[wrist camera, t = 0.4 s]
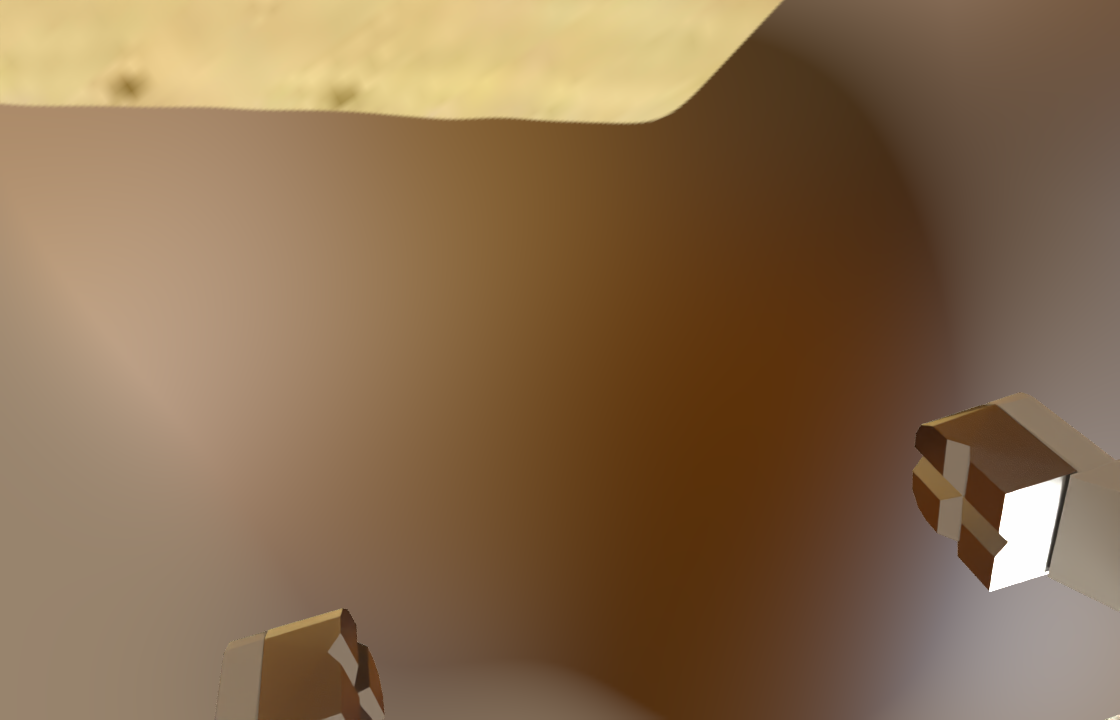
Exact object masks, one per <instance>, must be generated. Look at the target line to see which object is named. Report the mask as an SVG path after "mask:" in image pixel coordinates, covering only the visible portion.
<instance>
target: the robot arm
mask: <svg viewBox="0 0 1120 720" xmlns="http://www.w3.org/2000/svg"><path fill="white" fill-rule="evenodd" d="M915 448H916V449H917V450H918V451H919V452H920V453H921V454H922V455H923V457H922V458H921V460H920V461H919V463H918V464H917V465H916V467H915V468H914V470H913V475H912V477H913V478H912V490H913V493H914V496H915V499H916V502H917V506H918V508H919V510H920V511H921V513H922V515H923V516H924V518H925V519H926V521H927V522H928V523H929V524H930V526H931V527H932V528H933V529H934V530H935V531H936V533H938V534H940V535H943V536H945V537H948V538H951V539H953V540H956V541H958V557H959V558H960V559H961V560H962V562H963V563H964V564H965V565H966V566H967V567H968V568H969V569H970V570H971V571H972V573H973V574H974V575H975V576H976V577H977V578H978V579H979V580H980V581H981V582H982V584H983V585H984V586H985V587H986V588H987V589H988V590H989V591H993V590H996V589H999V588H1002V587H1006V586H1008V585H1012V584H1015V583H1018V582H1022V581H1025V580H1028V579H1031V578H1035V577H1038V576H1041V575H1044V574H1048V577H1049V578H1051V579H1053V580H1055V581H1057V582H1059V583H1061V584H1063V585H1065V586H1067V587H1069V588H1071V589H1073V590H1075V591H1078V592H1079V593H1081V594H1084V595H1086V596H1088V597H1090V598H1092V599H1094V600H1096V601H1098V602H1100V603H1102V604H1104V605H1106V606H1108V607H1110V608H1112V609H1114V610H1116V611H1118V612H1120V459H1119V460H1115V459H1114V458H1112V457H1111V456H1110V455H1108V454H1107V453H1106V452H1104V451H1103V450H1102V449H1101V448H1099V447H1098V446H1096V445H1095V444H1094V443H1093V442H1091V441H1090V440H1089V439H1087V438H1086V437H1085V436H1083V435H1082V434H1081V433H1080V432H1078V431H1077V430H1076V429H1074V428H1073V427H1072V426H1070V425H1069V424H1068V423H1066V422H1065V421H1064V420H1063V419H1061V418H1060V417H1059V416H1057V415H1056V414H1055V413H1053V412H1052V411H1051V410H1049V409H1048V408H1047V407H1046V406H1044V405H1043V404H1042V403H1040V402H1039V401H1038V400H1036V399H1035V398H1034V397H1032V396H1030V395H1028V394H1025V393H1021V392H1020V393H1017V394H1013V395H1010V396H1007V397H1004V398H1001V399H998V400H995V401H992V402H989V403H987V404H985V405H979V406H976V407H974V408H970V409H967V410H964V411H961V412H958V413H955V414H952V415H949V416H946V417H943V418H940V419H937V420H934V421H931V422H928V423H925V424H922V425H921V426H920V427H919V429H918V430H917V432H916V437H915ZM384 717H385V713H384V702H383V693H382V688H381V683H380V678H379V673H378V671H377V668H376V665H375V662H374V659H373V657H372V655H371V653H370V651H369V648H368V647H367V646H366V645H363V644H361V643H358V642H357V625H356V623H355V622H354V620H353V618H352V616H351V614H350V612H349V611H348V609H344V608H342V609H339V610H336V611H332V612H328V613H325V614H322V615H318V616H315V617H311V618H308V619H304V620H301V621H297V622H294V623H290V624H287V625H284V626H280V627H277V628H274V629H270V630H268V631H265V632H262V633H259V634H255V635H252V636H248V637H245V638H241V639H238V640H234V641H231V642H229V644H228V646H227V648H226V650H225V652H224V654H223V661H222V668H221V676H220V683H219V691H218V698H217V705H216V712H215V720H383V718H384ZM1106 720H1120V714H1119V715H1117V716H1114V717H1111V718H1108V719H1106Z"/></svg>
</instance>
